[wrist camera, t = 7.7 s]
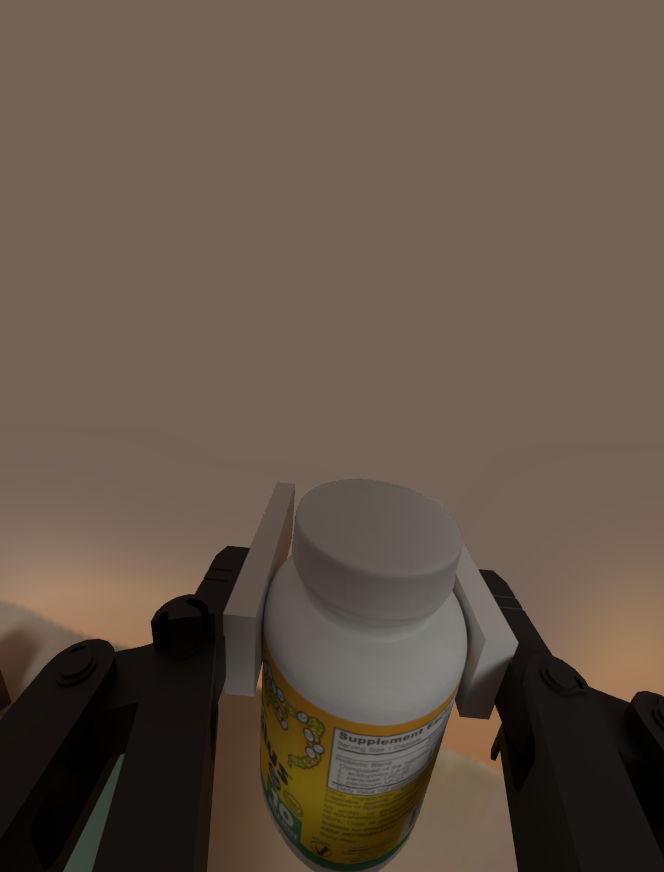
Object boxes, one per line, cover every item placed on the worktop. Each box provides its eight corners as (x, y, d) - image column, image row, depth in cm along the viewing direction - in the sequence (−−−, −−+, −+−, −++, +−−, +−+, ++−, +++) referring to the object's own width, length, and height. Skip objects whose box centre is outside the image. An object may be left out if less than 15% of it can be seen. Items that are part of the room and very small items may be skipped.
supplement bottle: (450, 866, 9) (563, 599, 6) (252, 909, 8) (259, 619, 5) (388, 669, 14) (431, 469, 11) (262, 682, 13) (268, 466, 10)
